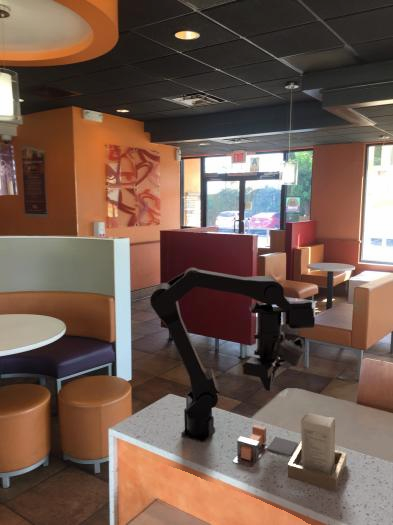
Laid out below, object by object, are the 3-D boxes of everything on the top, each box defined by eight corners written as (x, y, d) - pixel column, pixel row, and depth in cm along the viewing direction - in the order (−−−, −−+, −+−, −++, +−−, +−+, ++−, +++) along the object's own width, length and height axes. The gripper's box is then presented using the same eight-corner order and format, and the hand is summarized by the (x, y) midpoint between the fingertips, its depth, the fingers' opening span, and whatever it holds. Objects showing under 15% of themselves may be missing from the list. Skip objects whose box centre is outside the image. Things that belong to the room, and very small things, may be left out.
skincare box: (335, 470, 96) (337, 417, 94) (329, 481, 92) (331, 427, 90) (305, 461, 99) (306, 410, 97) (299, 472, 95) (300, 419, 93)
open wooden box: (287, 477, 94) (287, 464, 93) (301, 452, 102) (301, 440, 102) (335, 492, 89) (336, 479, 88) (346, 465, 97) (346, 452, 97)
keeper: (232, 462, 99) (232, 445, 99) (248, 442, 107) (249, 426, 106) (252, 468, 97) (252, 451, 96) (267, 447, 105) (267, 431, 104)
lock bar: (239, 457, 100) (239, 442, 100) (254, 437, 108) (254, 424, 107) (251, 460, 99) (251, 446, 98) (266, 441, 106) (266, 427, 106)
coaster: (267, 450, 104) (267, 448, 103) (275, 438, 108) (275, 436, 108) (290, 456, 101) (290, 455, 101) (297, 444, 106) (297, 442, 105)
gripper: (289, 347, 95) (287, 414, 98) (313, 323, 111) (311, 382, 114) (241, 339, 100) (241, 403, 103) (270, 317, 116) (270, 373, 119)
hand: (268, 389), depth 110 cm, fingers closed
